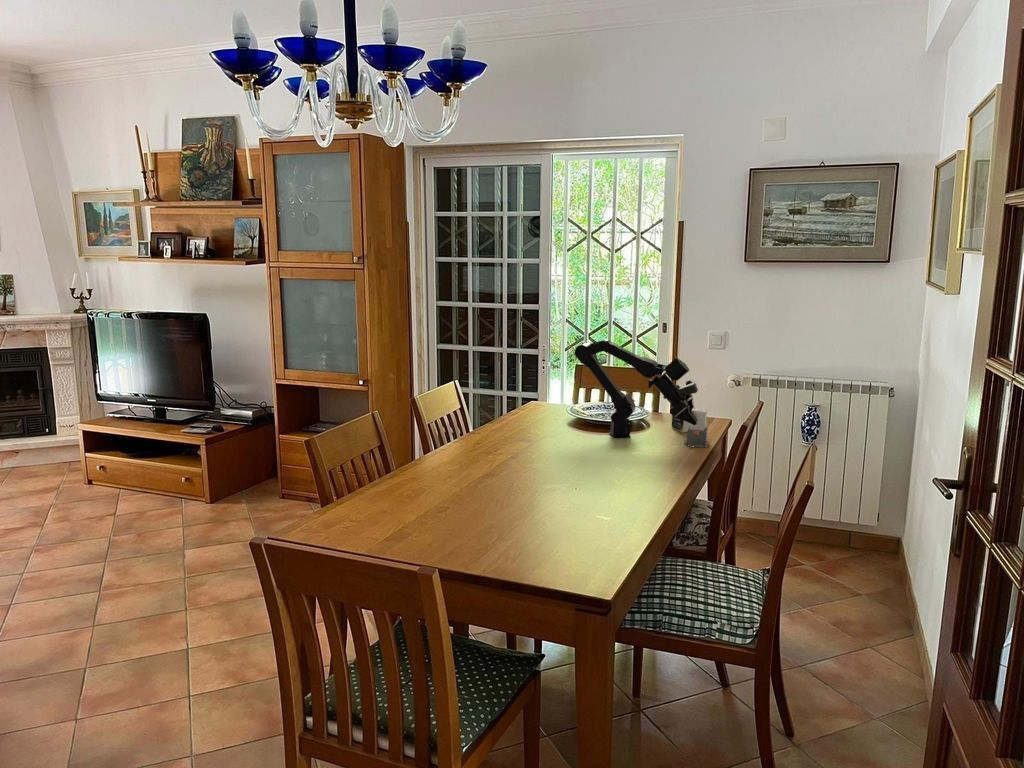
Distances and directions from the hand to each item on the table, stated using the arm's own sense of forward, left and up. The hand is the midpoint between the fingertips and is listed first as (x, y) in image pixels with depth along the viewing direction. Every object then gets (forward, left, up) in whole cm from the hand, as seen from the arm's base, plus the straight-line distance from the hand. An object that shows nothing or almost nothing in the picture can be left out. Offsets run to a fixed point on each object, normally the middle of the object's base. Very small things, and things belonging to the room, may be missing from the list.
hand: (697, 421), depth 267 cm
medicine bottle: (+4, +19, -9) cm, 21 cm away
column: (0, 0, -9) cm, 9 cm away
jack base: (0, 0, -9) cm, 9 cm away
